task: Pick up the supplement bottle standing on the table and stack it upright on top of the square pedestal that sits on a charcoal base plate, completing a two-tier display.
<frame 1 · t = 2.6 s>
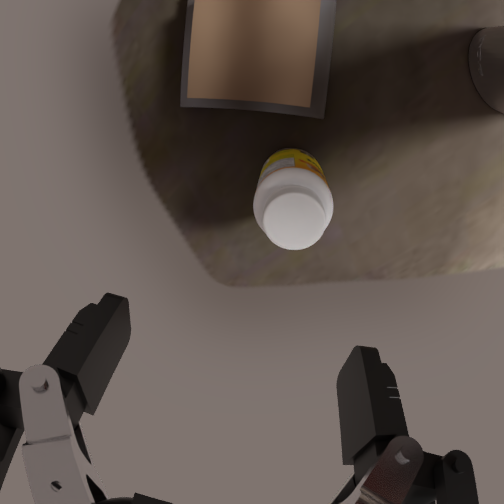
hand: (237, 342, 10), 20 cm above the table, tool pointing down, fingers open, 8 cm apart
supplement bottle: (291, 174, 28), on the table
pedestal: (257, 49, 22), on the table
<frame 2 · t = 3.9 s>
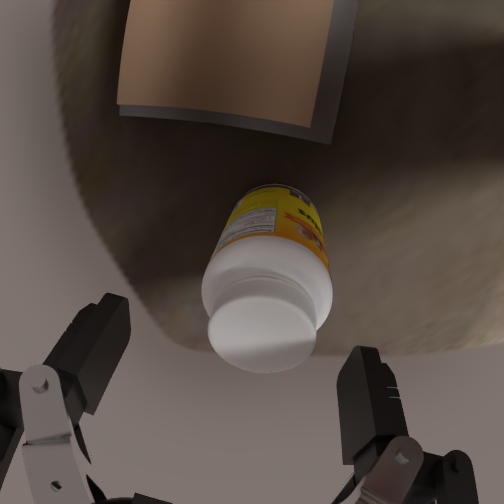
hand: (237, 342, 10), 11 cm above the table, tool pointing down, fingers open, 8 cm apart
supplement bottle: (275, 221, 20), on the table
pedestal: (238, 31, 14), on the table
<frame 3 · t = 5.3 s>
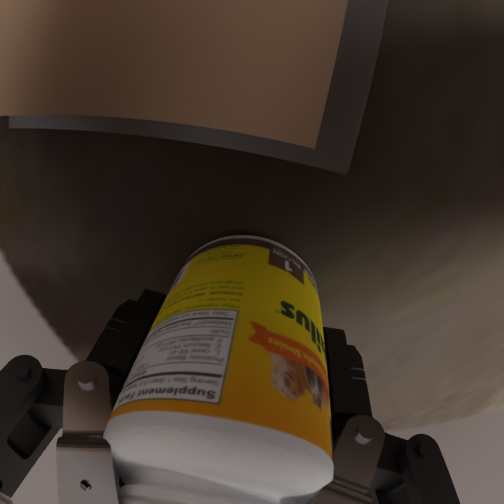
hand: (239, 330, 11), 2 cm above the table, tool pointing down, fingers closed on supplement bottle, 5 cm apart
supplement bottle: (248, 287, 13), on the table, touching gripper
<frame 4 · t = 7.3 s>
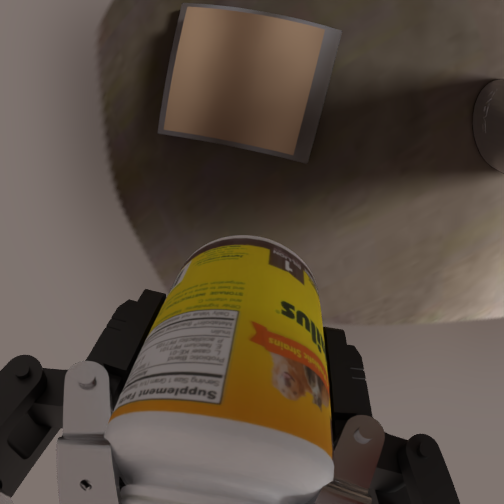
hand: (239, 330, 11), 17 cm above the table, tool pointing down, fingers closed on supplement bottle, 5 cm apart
supplement bottle: (248, 287, 13), point 15 cm above the table, touching gripper
pedestal: (247, 77, 22), on the table
when the fingers open (8 cm above the table, at t = 9.6 s): supplement bottle drops 1 cm, resting on pedestal.
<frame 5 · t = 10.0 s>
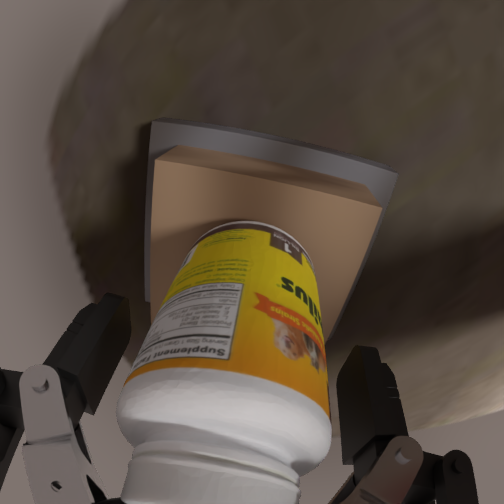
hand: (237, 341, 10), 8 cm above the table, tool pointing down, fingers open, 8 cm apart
supplement bottle: (250, 271, 14), point 4 cm above the table, touching pedestal
pedestal: (257, 232, 18), on the table
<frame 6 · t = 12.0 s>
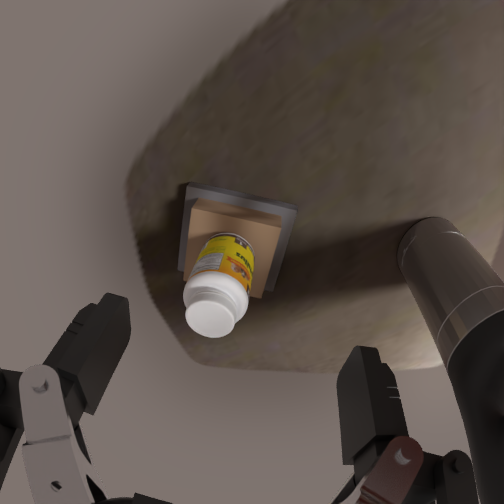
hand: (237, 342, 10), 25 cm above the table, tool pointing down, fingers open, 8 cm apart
supplement bottle: (229, 253, 33), point 4 cm above the table, touching pedestal
pedestal: (234, 236, 37), on the table
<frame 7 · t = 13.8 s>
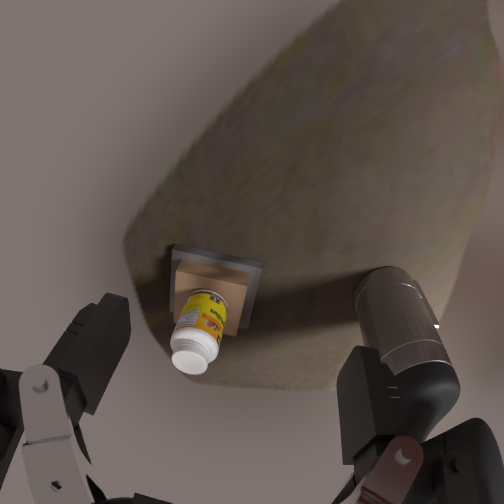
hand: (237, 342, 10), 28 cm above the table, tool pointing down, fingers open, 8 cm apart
supplement bottle: (208, 303, 41), point 4 cm above the table, touching pedestal
pedestal: (214, 286, 44), on the table
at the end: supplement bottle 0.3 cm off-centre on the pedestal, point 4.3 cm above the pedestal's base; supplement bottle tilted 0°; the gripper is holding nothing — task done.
